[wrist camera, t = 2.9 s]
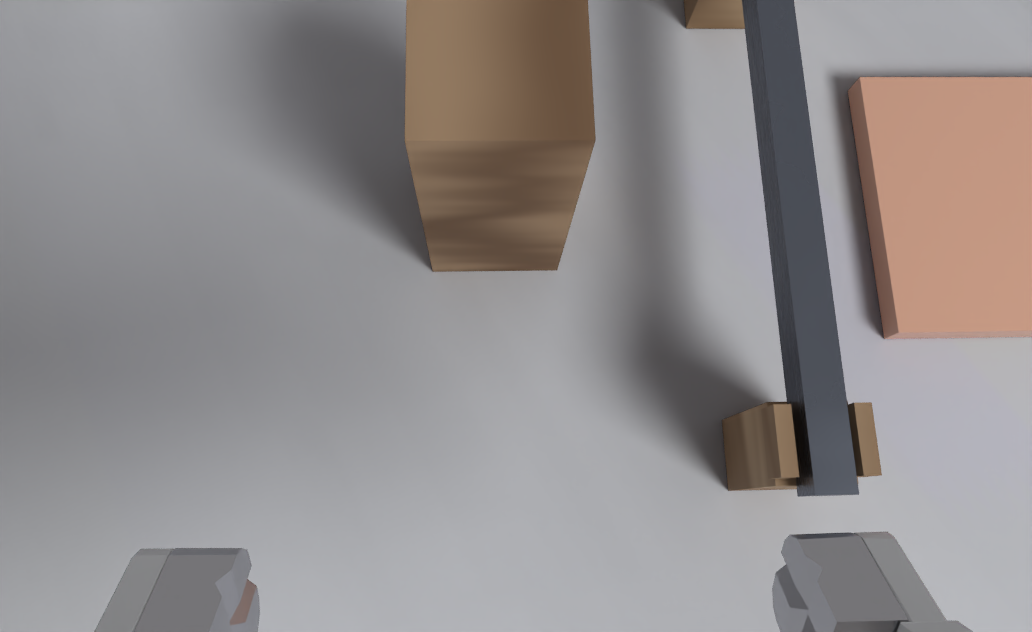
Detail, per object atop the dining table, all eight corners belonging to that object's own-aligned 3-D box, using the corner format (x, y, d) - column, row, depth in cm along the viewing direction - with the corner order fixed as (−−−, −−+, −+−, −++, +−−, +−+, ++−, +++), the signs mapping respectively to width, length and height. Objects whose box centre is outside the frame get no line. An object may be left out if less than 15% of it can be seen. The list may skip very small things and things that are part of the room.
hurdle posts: (722, 490, 26) (782, 485, 21) (676, -24, 31) (715, -132, 26) (803, 488, 26) (882, 482, 21) (744, -23, 31) (796, -131, 26)
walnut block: (432, 271, 28) (404, 140, 18) (433, 157, 29) (406, -24, 19) (556, 270, 28) (595, 140, 18) (552, 156, 29) (586, -23, 19)
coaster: (884, 338, 28) (898, 332, 27) (847, 91, 30) (859, 77, 29) (1151, 335, 28) (1174, 328, 27) (1093, 90, 31) (1112, 77, 30)
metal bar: (797, 496, 22) (815, 495, 21) (728, -116, 27) (739, -144, 26) (839, 495, 22) (858, 494, 21) (762, -115, 27) (774, -143, 26)
